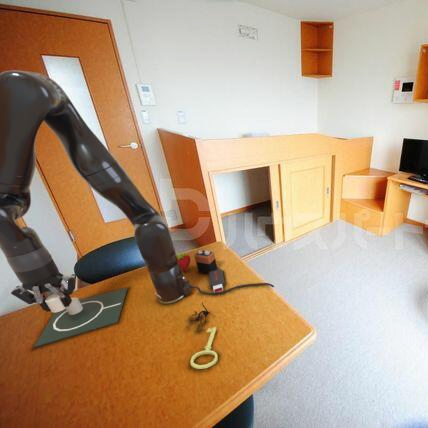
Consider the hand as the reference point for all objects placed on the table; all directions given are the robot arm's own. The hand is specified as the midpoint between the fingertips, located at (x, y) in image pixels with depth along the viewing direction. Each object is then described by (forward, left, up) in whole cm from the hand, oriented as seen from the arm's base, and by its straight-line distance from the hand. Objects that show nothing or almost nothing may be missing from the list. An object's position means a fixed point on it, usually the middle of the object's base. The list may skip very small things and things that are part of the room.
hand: (59, 307), depth 75 cm
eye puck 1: (0, 0, 0) cm, 0 cm away
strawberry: (-34, -14, -8) cm, 37 cm away
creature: (-38, +18, -8) cm, 42 cm away
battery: (-43, -10, -8) cm, 45 cm away
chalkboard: (-4, -3, -8) cm, 9 cm away
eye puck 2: (0, -6, -7) cm, 10 cm away
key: (-40, +30, -8) cm, 50 cm away
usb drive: (-45, 0, -8) cm, 46 cm away
